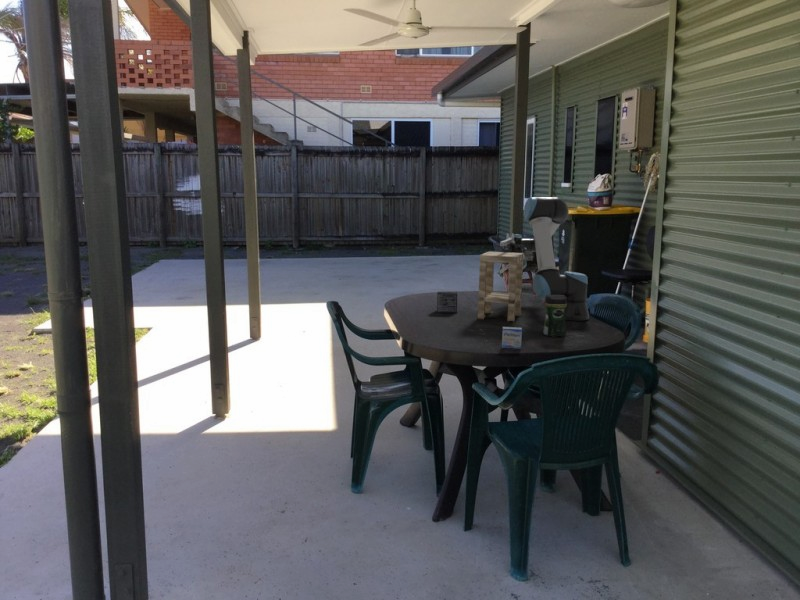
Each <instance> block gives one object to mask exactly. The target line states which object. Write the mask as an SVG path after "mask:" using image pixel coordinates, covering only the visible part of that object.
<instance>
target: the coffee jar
mask: <svg viewBox="0 0 800 600" xmlns="http://www.w3.org/2000/svg"><path fill="white" fill-rule="evenodd" d="M544 299H545V300H544V306H545V317H544V323H543V324H544V325H543V330H542V331H543V335H544V336H546V337H550V336H552V337H553V338H558V336H561V337H565V336H566V333H567V330H566V320H565V309H566V306H567V298H566V296H564V295H546V298H544ZM556 336H557V337H556ZM552 337H551V338H552Z"/></svg>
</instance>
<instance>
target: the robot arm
mask: <svg viewBox="0 0 800 600" xmlns="http://www.w3.org/2000/svg"><path fill="white" fill-rule="evenodd" d="M569 212H570V211H569V206H568V205H567V203H566V202H565V200H563V199H562V198H560V197H557V196H556V197H555V196H552V197H550V196H549V197H548V196H547V197H545V196H533V197H532V196H531V197H528V198H527V199H526V201H525V204H524V208H523V218H524V219H525V220H526V221H528V224H529V226H531V227H532V232H533V238H523V236H522V234H518V233H515V234H514V233H511V236H510V234H509V232H506V237H505V238H504V239H503V241H504V240H506V239H509V238H512V241H513V242H512V243H510V244H508V245H506V246H502V251H506V252H509V253H524V255H523V270H524V269H525V268H526V267H527V265H528V264H527V263H528V261H527V258H526V255H525V254H526V252H527V253H528V252H529V253H530V252H531V253H532V252H535V255H536V262H537V263H536V264H537V268H538V269H537V271H536V272H535V275H534V276H533V277H532V287H533V288H532V289H533V291H534V293H535V295H536V296H537V297H538V298H540V299H545V298H546V295H564V296H566V298H567V306H566V309H565V321H574V322H576V321H578V322H580V321H582V322H583V321H587V320H589V318H590V313H589V310H588V305H587V298H588V297H587V295H588V284H589V282H588V276H587V275H586V274H584V273H581V272H575V271H570V270H569V271H564V272H563V274H560V269H558V268H557V267H556V261H555V255H554V247H553V240H552V236H553V235H554V234H555V233H556V231H557V229H559V227H560V225H561V224H564V223H565V222H566V220H567V219H568V217H569Z"/></svg>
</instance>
